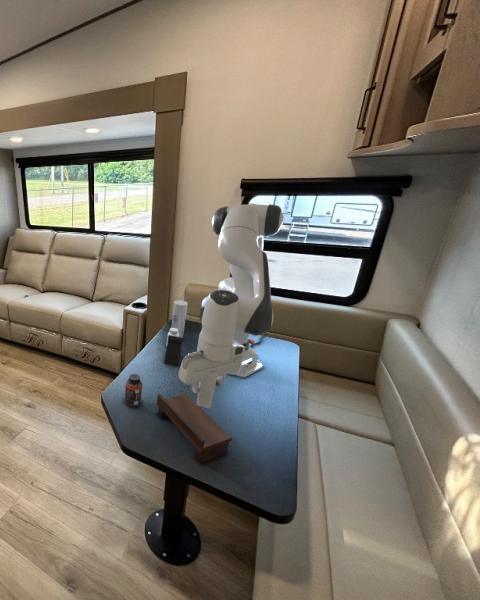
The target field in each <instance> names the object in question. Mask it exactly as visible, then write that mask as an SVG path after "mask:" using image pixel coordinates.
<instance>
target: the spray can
mask: <svg viewBox="0 0 480 600" xmlns="http://www.w3.org/2000/svg"><path fill="white" fill-rule="evenodd" d="M188 305H189V304H188V302H187V301H185V300H181V299H180V300H179V299H178V300H175V301H174V303H173V309H172V310H173V311H172V319H171V320H172V321H171V327H170V328H177V329H178V334H179V337H181V338H183V339H184V332H185V326H186V318H187V312H188Z"/></svg>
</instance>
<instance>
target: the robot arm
mask: <svg viewBox="0 0 480 600" xmlns="http://www.w3.org/2000/svg"><path fill="white" fill-rule="evenodd" d="M283 224H284V213H283V210H282V207H281V206H279V205H277V204H271V203H269V204H255V203H253V204H252V203H251V204H250V203H249V204H239V205H233V206H227V205H226V206H222V207H220V208H217V210H216V211H215V212H214V215H213V217H212V219H211V225H212V230H213V233H215V235H217V236H218V237H219V238H218V245H217V247H218V248H217V250H218V253H219V254H220V256H221V258H222V259H223V260H225V261H226V262H227V263H229V265H228V269H229V272H230V274H231V277H227V278H224V279H222V281H220V283H219V285H218V287H217V290H213V291H211V292H210V293H209V294H208V296H206V297H204V299H203V300H202V302H201V307H200V312H199V320H200V322H201V330H200V332H199V335H198V342H197V346H196V351H194V352H190V353H188V354H187V355H186V356H185V357H183V359H182V361H181V364H180V367H179V370H178V379H179V380H180V382H182V383H183V384H184V385H186V386H189V385H191V391H192V392H193V394H198V392H200V387H199V383H200V382H201V381H205V380H207V376H208V373H210V372H214V371H217V370H218V372H217V379H216V385H215V388H218V387H221V386H222V385H223V382H224V380H225V379H226V378H227V375H229V376H230V375H231V376H237V377H240V378H247V377H248V376H250V375H252V374H254V373H256V372H257V371H259V370H261V369H263V367H264V365H263V363H262V362H261V361H260V360H259V354H258V353H257V351H256V350H254V349H253V348H252V347H254V346H256V345H259V344H261V343H262V342H263V338H264V337H265V336H268V335H269V334H268V333H267V332H269V331H270V330H271V328H272V326H273V323H274V310H273V304H272V295H271V278H270V277H271V276H270V266H269V257H268V255H267V252H265V251H264V237H265V238H268V237H271V236H272V237H273V236H274V235H276V234H278V233H279V231H280V229H281V228H282V226H283ZM250 335H251V336H254V337H255V336H256V337H257V336H260V335H261V337H260V340H259V341H257V342H256V341H255V340H254V339H252V338H249V336H250Z"/></svg>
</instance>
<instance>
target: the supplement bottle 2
mask: <svg viewBox="0 0 480 600" xmlns="http://www.w3.org/2000/svg"><path fill="white" fill-rule="evenodd" d="M169 335H171V336H176V337H179V334H178V329H177V328H171V327H170V328H169V332H168V333H167V336H166V337H167V338H166V345H165V346H166V347H167V343H168V336H169Z"/></svg>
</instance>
